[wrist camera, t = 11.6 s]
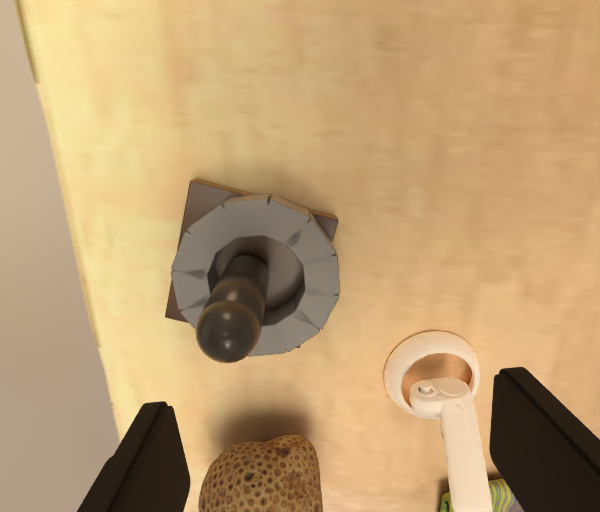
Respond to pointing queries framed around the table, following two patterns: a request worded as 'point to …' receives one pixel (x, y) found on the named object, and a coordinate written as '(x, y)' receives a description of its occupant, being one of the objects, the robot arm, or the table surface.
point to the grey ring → (280, 227)
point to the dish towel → (501, 498)
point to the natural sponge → (264, 478)
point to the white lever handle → (446, 413)
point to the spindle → (241, 280)
